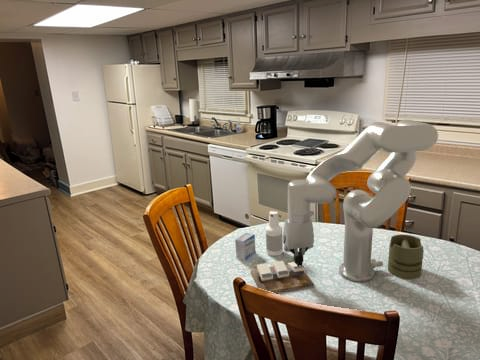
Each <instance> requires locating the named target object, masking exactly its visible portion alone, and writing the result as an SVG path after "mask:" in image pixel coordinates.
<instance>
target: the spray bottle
mask: <svg viewBox="0 0 480 360" xmlns="http://www.w3.org/2000/svg"><path fill="white" fill-rule="evenodd" d="M278 213H279V212H278V211H274V210H271V211H269V215H268V225H267V226H266V227H265V244H266V245H265V246H266V247H265V252H266V254H267V255H268V256H272V257H278V256H280V255H282V254H283V250H284V246H283V245H284V243H283V227H282V226H281V225H280V221H279V215H278Z"/></svg>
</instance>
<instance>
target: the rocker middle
mask: <svg viewBox="0 0 480 360" xmlns="http://www.w3.org/2000/svg"><path fill="white" fill-rule="evenodd" d="M285 264H286V263H285V262H284V260H278V261H273V262H272V264H271V265H272V266H273V267H274V269H275V272H276V274H277V276H278V278H281V277H287V276H289V272H288V270H287V268H286V266H285Z"/></svg>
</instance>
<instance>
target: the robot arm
mask: <svg viewBox="0 0 480 360" xmlns="http://www.w3.org/2000/svg"><path fill="white" fill-rule="evenodd" d="M438 138H439V132H438V130H437V129H436V127H435V126H433V125H432V124H429V123H428V122H427V123H426V122H421V121H419V120H418V121H417V120H413V119H412V120H411V119H402V120H399V121H397V122H396V124H395V125H394V124H390V123H385V122H381V121H374V122H372V123H369V125H367V126H366V128H364V129H363V130H362V131H361V132H360V133H359V134H358V135H357V136H356V137H355V138H354V139H353V140H352V141H351V142H349V144H348V145H347V146H346V147H345V148H344V149H343V150H341V151H340V152H338V153H336V154H333V155H332V156H330V157H328V158H327V159H325V160H323V161H321V163H319V164H318V165H317V166H316V167H315V168H314V169H313V170H312V171H311V172H310V173H309V174H308V175H307V176H306V178H305V180H304V179H294V180H292V181H291V180H290V182H289V183H288V184H287V218H286V219H284V225H283V230H282V238H283V245H284V246H283V250H284V252H285V253H286V252H287V253H288V252H290V253H292V254H293V262H294V263H296V264H297V266H302V265H303V263H304V256H305V255H306V252H307V251H308V250H310V249H313V248H314V246H315V245H314V242H315V235H314V234H315V233H314V224H313V219H312V218H311V217H312V216H314V215H315V213H314V210H313V211H312V210H311V204H323V205H325V204H329V203H331V202H332V201H334V199H336V196H337V190H336V187H335V186H334V185H333V184H332V182H330V181H331V180H332V179H333V178H336V177H337V176H338V175H340V174H343V173H346V172H355V171H359V170H361V169H363V168H364V167H365V166H366V165H367V164H368V163H369V162H370V161H371V160H372V159H373V158H374V157H375V156H376V155H377V154H378V153H379V152H380V151H383V152H386V153H389V154H388V156H387V157H386V158H385V159H383V161H382V163H380V164H379V165H378V167H377V168H376V169H375V170H373V171H372V173H371V174H370V175H369V176H368V178H367V182H366V184H367V187H368V189H369V190H370V191H371V192H373V194H375V195H374V196H373V195H371V194H370V193H369V192H367V191H364V190H362V189H353V190H351V191H349V192H348V193H347V194H346V195H345V196H344V199H343V204H342V208H343V214H344V215H343V216H344V240H343V262H342V263H341V264H340V265H339V266H338V272H339V274H340V275H341V276H342V278H344V279H347V280H349V281H352V282H353V281H354V282H366V281H370V280H372V279H373V278H375V275H376V274H375V273H376V271H375V268H376V267H383V265H384V264H383V261H382V260H378V261H377V260H376V259H375V258H372V248H373V235H374V229H376V228H378V227H382V225H384V224H385V223H386V222H387V221H388V220H389V219H390V218H391V217H393V215H394V214H395V213H396V212H397V211H398V210H399V209H400V208H401V207H402V206H403V205H404V203H406V201H407V200H408V198H409V197H410V194H411V189H412V186H411V183H410V181H409V179H408V178H407V177H406V176H407V174H408V173H409V172H410V171H411V170H412V168H413V167H414V165H415V163H416V158H417V152H425V151H427V150H430V149H431V148H433V147H434V146H436V145H435V144H437V142H438Z"/></svg>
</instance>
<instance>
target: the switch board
mask: <svg viewBox="0 0 480 360" xmlns="http://www.w3.org/2000/svg"><path fill="white" fill-rule="evenodd" d="M284 264H285V266H286V268H287V270H288V272H289V276H287V277H281V278H278V276H277V274H276V272H275V269H274V267H273V265H272V266H269V268H270V270H271V273H272V275H273V279H270V280H264V281H262V280H261V277H260V274H259V272H258V269H257V268H255V269H250V274H251V277H252V278H253V280H254V283H255V285H256V287H257V289H258V288H261V289H264V290H267V291H271V292H274V293H273V294H276V293H283V292H289V291H294V290H300V289H305V288H312V287H314V284H315V283H314V282H313V280H312V279H311V278H310V276H309V275H308V273H307V272H306V270H304V271H298V272H294V271H293V270H292V269H291V268H290V267H289V266H288V263H284Z"/></svg>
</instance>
